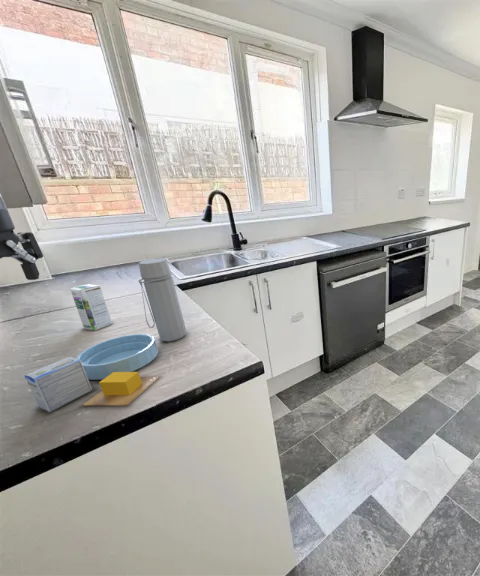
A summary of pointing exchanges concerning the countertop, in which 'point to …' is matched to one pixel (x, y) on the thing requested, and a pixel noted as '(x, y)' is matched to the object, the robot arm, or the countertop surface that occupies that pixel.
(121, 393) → the sponge
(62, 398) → the medicine box
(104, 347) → the basin
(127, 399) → the mat
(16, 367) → the countertop surface
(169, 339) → the water bottle
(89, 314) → the syrup box
